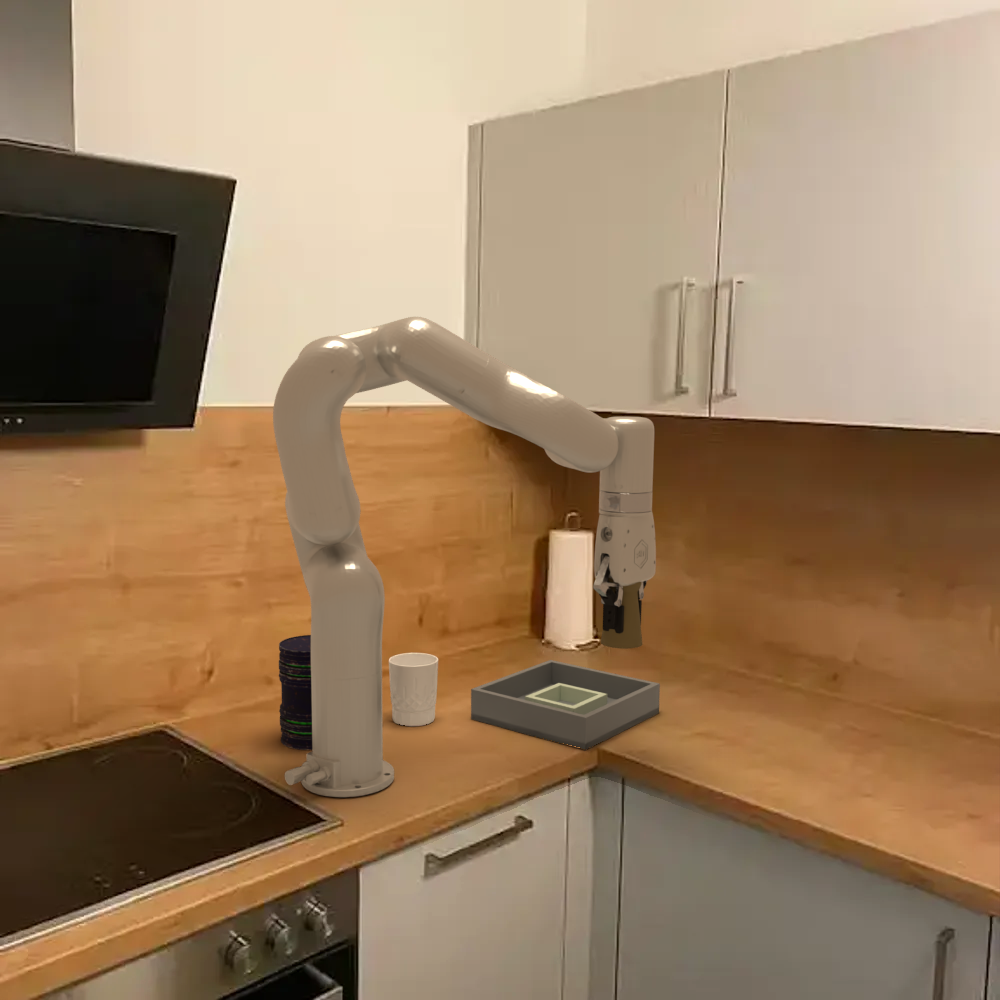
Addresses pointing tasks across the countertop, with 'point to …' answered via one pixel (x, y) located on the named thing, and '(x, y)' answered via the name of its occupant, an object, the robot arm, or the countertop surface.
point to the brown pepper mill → (626, 621)
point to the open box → (565, 703)
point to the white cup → (413, 688)
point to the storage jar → (296, 692)
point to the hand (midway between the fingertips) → (621, 627)
